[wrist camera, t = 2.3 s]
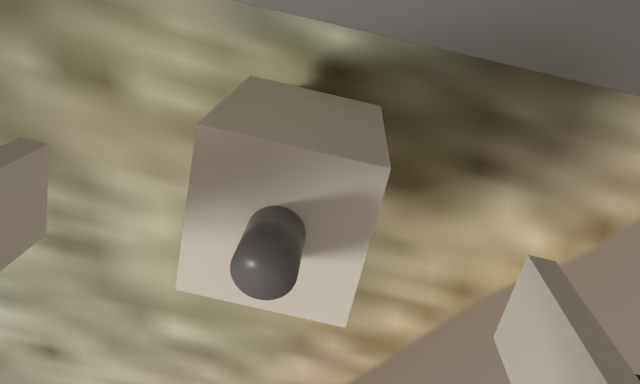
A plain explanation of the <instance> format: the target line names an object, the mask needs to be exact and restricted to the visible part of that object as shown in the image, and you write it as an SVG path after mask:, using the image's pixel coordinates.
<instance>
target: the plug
mask: <svg viewBox="0 0 640 384" xmlns="http://www.w3.org/2000/svg"><path fill="white" fill-rule="evenodd" d="M390 171H391V165H390V159H389V153H388V147H387V140H386V134H385V128H384V122H383V116H382V110H381V106H379V105H374V104H370V103H366V102H362V101H357V100H353V99H349V98H344V97H340V96H336V95H331V94H327V93H323V92H319V91H314V90H310V89H306V88H301V87H297V86H293V85H288V84H284V83H280V82H276V81H271V80H267V79H263V78H258V77H254V76H249V77H248V78H247V79H246V80H245V81H244V82H243V83H242V84H241V85H239V86H238V87H237V88H236V89H235V90H234V91H233V92H232V93H231V94H229V95H228V96H227V97H226V98H225V99H224V100H223V101H222V102H221V103H219V104H218V105H217V106H216V107H215V108H214V109H213V110H212V111H211V112H209V113H208V114H207V115H206V116H205V117H204V118H203V119H202V120H201V121H200V122H198V123H197V126H196V134H195V142H194V149H193V157H192V165H191V172H190V180H189V188H188V195H187V203H186V211H185V218H184V226H183V234H182V241H181V249H180V257H179V264H178V272H177V280H176V287H175V290H179V291H184V292H188V293H193V294H197V295H202V296H206V297H211V298H215V299H219V300H224V301H228V302H233V303H237V304H242V305H246V306H251V307H255V308H260V309H264V310H268V311H273V312H277V313H282V314H286V315H291V316H295V317H300V318H304V319H309V320H313V321H317V322H322V323H326V324H331V325H335V326H340V327H344V328H345V327H346V323H347V320H348V316H349V313H350V309H351V306H352V303H353V299H354V296H355V292H356V289H357V285H358V282H359V278H360V275H361V271H362V268H363V264H364V261H365V258H366V254H367V251H368V247H369V244H370V240H371V237H372V233H373V230H374V226H375V223H376V219H377V216H378V213H379V209H380V206H381V202H382V199H383V195H384V192H385V188H386V185H387V181H388V178H389V174H390Z"/></svg>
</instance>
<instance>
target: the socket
mask: <svg viewBox="0 0 640 384" xmlns="http://www.w3.org/2000/svg"><path fill="white" fill-rule="evenodd" d="M234 1H238V2H242V3H247V4H251V5H255V6H259V7H264V8H268V9H272V10H276V11H281V12H285V13H289V14H293V15H298V16H302V17H306V18H310V19H315V20H319V21H323V22H327V23H332V24H336V25H340V26H344V27H349V28H353V29H357V30H361V31H366V32H370V33H374V34H378V35H383V36H387V37H391V38H395V39H400V40H404V41H408V42H412V43H417V44H421V45H425V46H429V47H434V48H438V49H442V50H446V51H451V52H455V53H459V54H464V55H468V56H472V57H476V58H481V59H485V60H489V61H493V62H498V63H502V64H506V65H510V66H515V67H519V68H523V69H527V70H532V71H536V72H540V73H544V74H549V75H553V76H557V77H561V78H566V79H570V80H574V81H578V82H583V83H587V84H591V85H595V86H600V87H604V88H608V89H612V90H617V91H621V92H625V93H629V94H634V95H638V96H640V0H234Z"/></svg>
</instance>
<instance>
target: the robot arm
mask: <svg viewBox="0 0 640 384" xmlns="http://www.w3.org/2000/svg"><path fill="white" fill-rule="evenodd" d="M48 148H49V144H47V143H42V142H38V141H34V140H29V139H25V138H21V137H20V138H18V139H16V140H13V141H11V142H9V143H6V144H4V145H2V146H0V271H1V270H2V269H3V268H5V267H6V266H7V265H8V264H10V263H11V262H12V261H14V260H15V259H16V258H17V257H19V256H20V255H21V254H22V253H24V252H25V251H26V250H28V249H29V248H30V247H31V246H33V245H34V244H35V243H36V242H38V241H39V240H40V239H42V238H43V237H44V236H45V235H46V227H47V187H48ZM494 340H495V343H496V345H497V348H498V351H499V353H500V356H501V359H502V361H503V364H504V366H505V369H506V372H507V375H508V377H509V380H510V383H511V384H640V375H636V374H635V373H634V372H633V370H632V369H631V368H630V366H629V365H628V363H627V362H626V361H625V359H624V358H623V356H622V355H621V354H620V352H619V351H618V349H617V348H616V346H615V345H614V343H613V342H612V341H611V339H610V338H609V336H608V335H607V334H606V332H605V331H604V329H603V328H602V326H601V325H600V324H599V322H598V321H597V320H596V318H595V317H594V315H593V314H592V313H591V311H590V309H589V308H588V307H587V305H586V304H585V302H584V301H583V299H582V298H581V297H580V295H579V294H578V292H577V291H576V290H575V288H574V287H573V285H572V284H571V283H570V281H569V280H568V278H567V277H566V275H565V274H564V273H563V271H562V270H561V268H560V267H559V265H558V264H557V263H556V261H552V260H547V259H543V258H539V257H534V256H530V255H528V256H527V259H526V261H525V263H524V266H523V268H522V271H521V273H520V275H519V278H518V280H517V283H516V285H515V287H514V290H513V292H512V295H511V297H510V299H509V302H508V304H507V306H506V309H505V311H504V314H503V316H502V318H501V321H500V324H499V326H498V328H497V331H496V333H495V335H494Z"/></svg>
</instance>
